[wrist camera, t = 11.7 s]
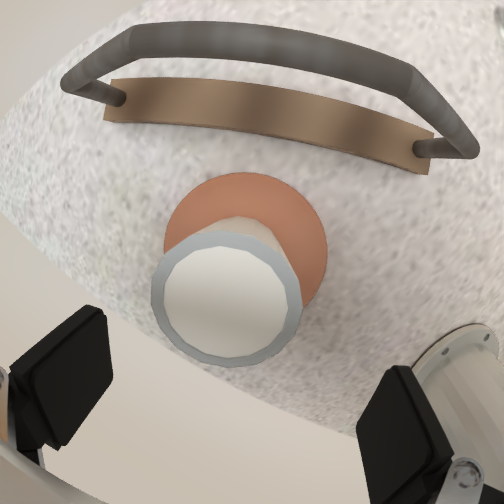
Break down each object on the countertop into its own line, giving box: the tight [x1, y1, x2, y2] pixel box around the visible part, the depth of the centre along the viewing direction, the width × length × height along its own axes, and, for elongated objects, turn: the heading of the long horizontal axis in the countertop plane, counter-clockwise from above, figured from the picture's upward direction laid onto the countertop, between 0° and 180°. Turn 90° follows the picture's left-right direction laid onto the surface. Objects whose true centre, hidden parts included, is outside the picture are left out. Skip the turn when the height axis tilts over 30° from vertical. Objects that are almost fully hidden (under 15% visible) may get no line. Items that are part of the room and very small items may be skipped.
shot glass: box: [151, 216, 303, 368], centre depth 16 cm, size 7×7×7 cm
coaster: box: [164, 172, 327, 308], centre depth 19 cm, size 11×11×1 cm
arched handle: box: [60, 21, 480, 175], centre depth 11 cm, size 22×3×12 cm, turn 80°
